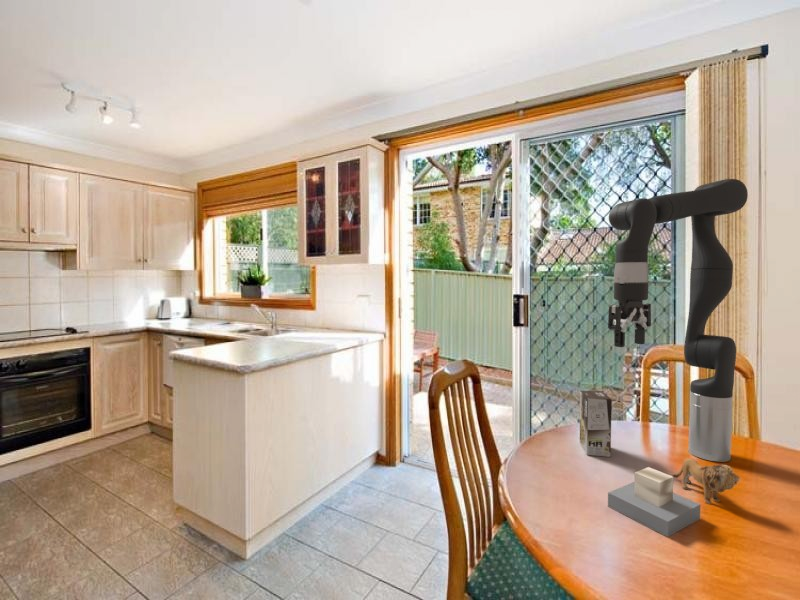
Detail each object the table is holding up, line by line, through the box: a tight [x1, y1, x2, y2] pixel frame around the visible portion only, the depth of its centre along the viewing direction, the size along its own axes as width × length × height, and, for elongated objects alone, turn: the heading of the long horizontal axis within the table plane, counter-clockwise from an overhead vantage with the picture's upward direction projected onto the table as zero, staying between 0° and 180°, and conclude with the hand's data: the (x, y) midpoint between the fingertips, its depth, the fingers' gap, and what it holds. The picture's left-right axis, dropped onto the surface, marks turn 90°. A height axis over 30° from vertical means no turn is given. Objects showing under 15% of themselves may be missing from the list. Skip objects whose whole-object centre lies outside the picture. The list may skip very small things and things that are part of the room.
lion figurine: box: [671, 458, 741, 505], centre depth 91 cm, size 15×5×9 cm, turn 13°
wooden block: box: [634, 466, 674, 507], centre depth 84 cm, size 5×5×5 cm
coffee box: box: [579, 390, 613, 458], centre depth 115 cm, size 9×6×16 cm
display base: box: [607, 481, 702, 538], centre depth 84 cm, size 12×12×3 cm
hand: (629, 345), depth 101 cm, fingers open, 8 cm apart
